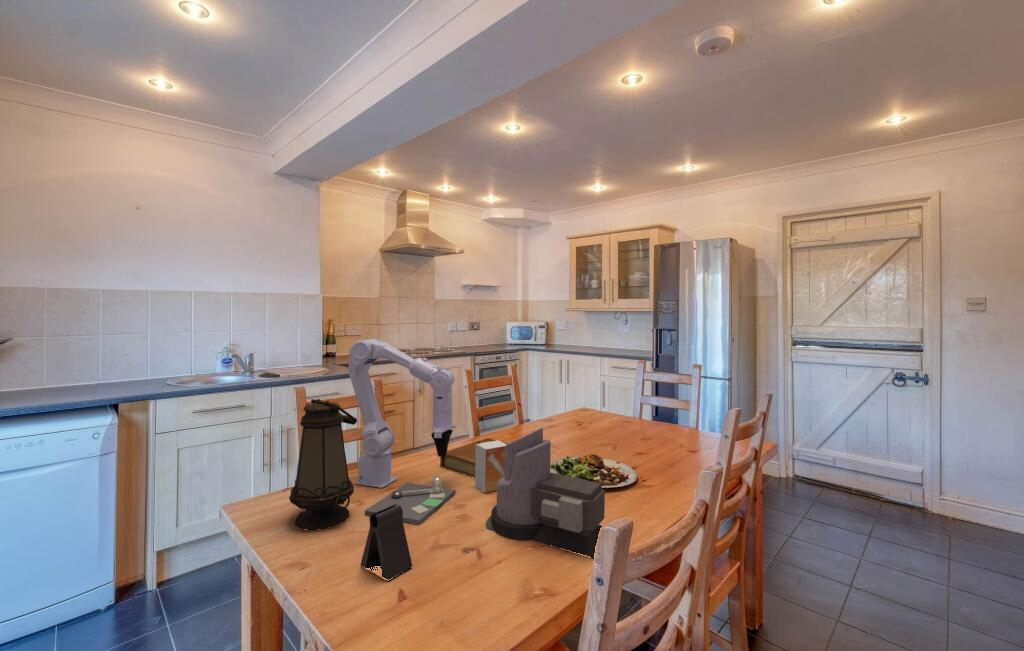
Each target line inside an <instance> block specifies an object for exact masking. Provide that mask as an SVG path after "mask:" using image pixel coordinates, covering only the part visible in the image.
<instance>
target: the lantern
mask: <svg viewBox="0 0 1024 651" xmlns="http://www.w3.org/2000/svg"><path fill="white" fill-rule="evenodd" d="M310 403H311V404H307V405H305V406H304V407H303V411H304V412H305V413H304V415H303V416H302V417H301V419H300V424H299V425H300V426H301V427H302V431H301V438H300V447H299V453H298V459H297V460H298V461H297V468H296V477H295V480H294V486H293V487H292V488H291V490H290V495H289V502H290V504H293V505H294V506H296V507H297V508H298V509H300V510H304V511H302V512H300V513H299V514H298V515H297V516H296V517H295V519H294V521H293V523H294V526H295V527H296V528H297V527H298V529H299V528H301V529H300V530H302V529H307V530H306V531H318V530H317V529H322V530H326V529H325V528H327V529H329V528H328V527H331V528H334V527H336V525H337V526H339V525H341V524H343V523H344V522H346V521H347V520H348V519H349V517H350V510H349V509H348V506H349V504H350V502H351V496H352V495H353V494H354V493H355V492H354V491H355V490H354V489H355V488H354V483H353V481H352V480H350V477H349V470H348V463H347V457H346V456H347V455H346V448H345V441H344V440H345V439H344V434H343V427H342V423H344V424H348V425H352V426H353V425H356V424H357V422H358V419H357V418H356V417H354V416H353V415H352V414H351V413H349V412H347V410H344V409H343V408H342V407H341V404H339V403H337V402H331V401H329V400H325V401H324V400H321V399H320V398H316V399H311V400H310ZM342 413H343V414H342ZM346 502H347V503H346ZM344 504H345V505H344ZM347 518H348V519H347ZM346 519H347V520H346ZM342 522H343V523H342ZM340 523H341V524H340ZM338 524H339V525H338ZM333 526H334V527H333Z"/></svg>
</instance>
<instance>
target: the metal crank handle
mask: <svg viewBox="0 0 1024 651" xmlns="http://www.w3.org/2000/svg"><path fill="white" fill-rule="evenodd" d="M432 486H433V488H431V489H421V490H411V491H400V490H397V489H395V490H396V491H395V490H393V491H392V492H391V493H392V497H393V498H399V497H401V496H404V495H414V494H423V493H440V492H443V488H444V487H443V486H442V476H439V475H437V476H435V475H434V476H433V477H432Z"/></svg>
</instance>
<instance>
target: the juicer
mask: <svg viewBox="0 0 1024 651" xmlns="http://www.w3.org/2000/svg"><path fill="white" fill-rule="evenodd" d="M508 443H509V442H508ZM550 465H551V440H550V439H548V438H547V439H544V428H543V427H540V428H539V429H538V428H537V429H536V430H534V431H532V432H531V433H528V434H526V435H524V436H521V437H520V438H518V439H516V440H513V441H512V442H510V443H509V444H507V445H505V458H504V477H503V478H501V479H500V480H499V481H498V482H497V490H496V504H495V505H494V506H493V508H492V509H491V511H490V512H491V513H490V515H489V517H488V518H487V519H486V521H485V528H486V530H489V531H491V532H495V533H496V534H498V535H499V536H501V537H504V538H506V539H509V540H514V541H526V540H527V541H533V542H536V543H539V542H540V543H539V544H542V543H543V544H542V545H545V544H547V545H546V546H549V545H552V546H555V547H558V548H563V549H566V550H570V551H572V552H576V553H580V554H583V555H587V556H590V557H591V558H590V559H591V560H595V559H594V553H595V546H596V543H597V539H598V534H599V531H600V528H601V527H603V525H601V523H602V521H603V520H604V519H605V499H606V495H605V493H606V492H605V491H606V490H605V489H603V488H602V483H597V482H593V481H588V480H583V479H578V478H574V477H569V476H564V475H560V474H555V473H550ZM552 546H551V547H552ZM555 547H554V548H555ZM558 548H557V549H558Z"/></svg>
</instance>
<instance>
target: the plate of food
mask: <svg viewBox="0 0 1024 651" xmlns="http://www.w3.org/2000/svg"><path fill="white" fill-rule="evenodd" d="M550 473H555V474H560V475H564V476H569V477H574V478H578V479H583V480H588V481H593V482H597V483H602V489H603V488H605V489H608V488H609V489H610V488H618V487H620V488H621V487H625V486H629V485H630V484H632V483H635V482H636V481H637V479H638V476H639V475H638V473H637V472H636V471H635V470H634V469H633V467H631V466H629V465H628V464H626V463H624V462H621V461H618V460H614V459H611V458H603V457H602V456H600V455H598V454H596V453H588V454H586V455H582V456H568V455H567V456H566V457H564V458H560V459H557V460H555V461H553V462H552V463H550Z"/></svg>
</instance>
